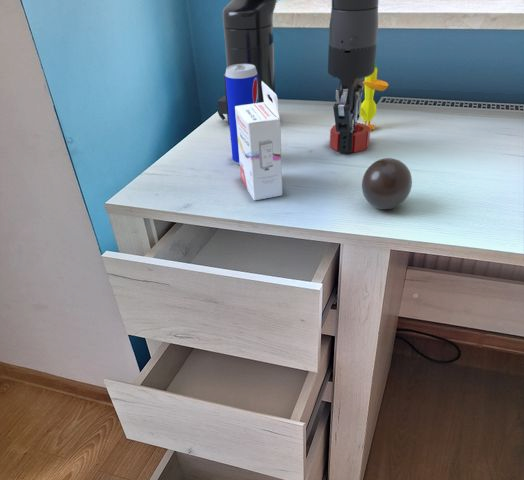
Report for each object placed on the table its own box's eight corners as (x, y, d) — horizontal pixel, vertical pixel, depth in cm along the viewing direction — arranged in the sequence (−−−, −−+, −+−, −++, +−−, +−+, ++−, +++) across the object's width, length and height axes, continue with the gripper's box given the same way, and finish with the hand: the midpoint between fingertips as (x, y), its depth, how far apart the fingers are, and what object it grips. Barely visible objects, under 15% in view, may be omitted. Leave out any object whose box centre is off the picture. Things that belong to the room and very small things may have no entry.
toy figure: (388, 131, 99) (396, 61, 92) (375, 136, 98) (382, 65, 90) (363, 123, 104) (368, 55, 96) (350, 127, 102) (354, 59, 94)
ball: (355, 215, 75) (359, 167, 70) (364, 194, 80) (368, 148, 75) (405, 220, 73) (412, 172, 68) (411, 199, 78) (418, 152, 73)
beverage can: (262, 165, 90) (258, 70, 80) (233, 167, 90) (224, 72, 80) (260, 154, 94) (256, 62, 84) (232, 156, 94) (224, 64, 84)
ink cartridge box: (239, 180, 86) (231, 83, 76) (267, 175, 87) (263, 79, 77) (253, 201, 80) (246, 99, 70) (283, 196, 80) (281, 94, 71)
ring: (326, 150, 94) (327, 133, 92) (335, 137, 98) (336, 121, 96) (364, 153, 92) (365, 136, 90) (371, 140, 96) (372, 123, 94)
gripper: (338, 31, 87) (334, 136, 99) (318, 50, 78) (316, 164, 89) (383, 32, 85) (373, 139, 97) (368, 51, 76) (359, 167, 87)
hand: (346, 150), depth 93 cm, fingers closed on ring, 1 cm apart
